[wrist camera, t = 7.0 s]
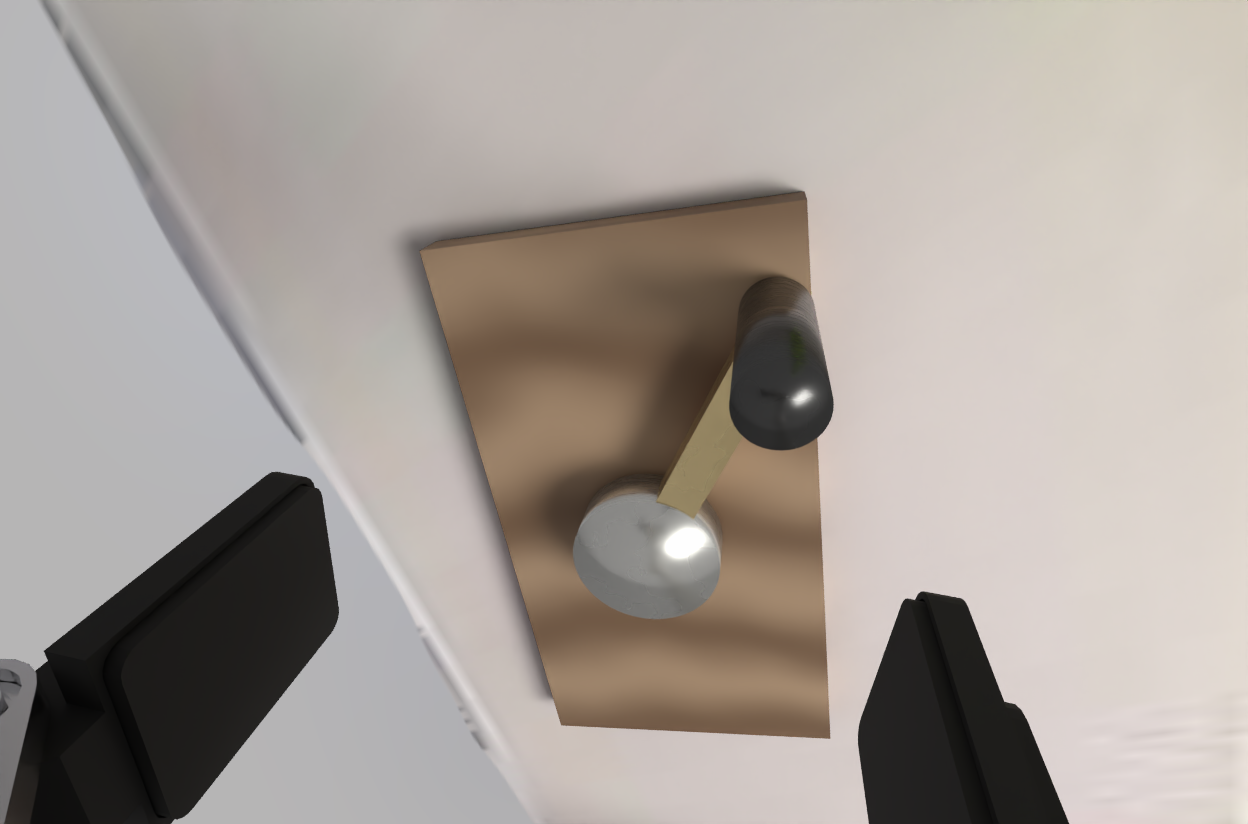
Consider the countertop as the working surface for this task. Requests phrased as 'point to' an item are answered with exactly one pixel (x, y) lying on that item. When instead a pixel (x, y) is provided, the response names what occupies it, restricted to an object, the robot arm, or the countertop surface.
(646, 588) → the ice cream scoop
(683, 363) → the brown flat rectangular board
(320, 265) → the countertop surface
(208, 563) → the robot arm
